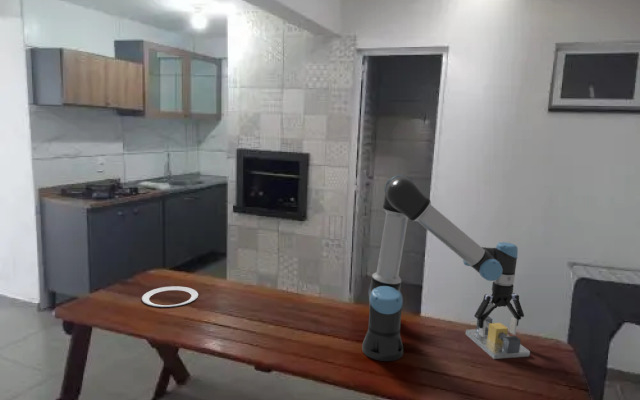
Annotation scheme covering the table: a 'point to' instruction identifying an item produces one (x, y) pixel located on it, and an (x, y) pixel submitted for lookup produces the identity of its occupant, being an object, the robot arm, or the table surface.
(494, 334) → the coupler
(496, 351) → the grey mounting plate
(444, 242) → the robot arm
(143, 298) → the flat white ring
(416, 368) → the table surface
